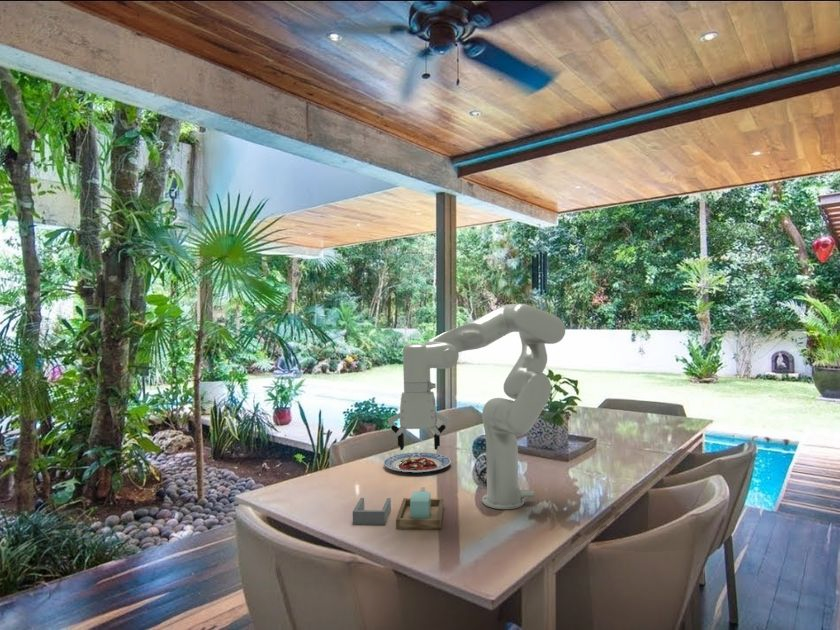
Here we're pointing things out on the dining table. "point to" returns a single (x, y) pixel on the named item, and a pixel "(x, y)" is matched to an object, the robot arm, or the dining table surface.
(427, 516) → the mint green block
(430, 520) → the tray
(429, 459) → the ceramic plate
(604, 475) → the dining table surface
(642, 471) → the dining table surface
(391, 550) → the dining table surface
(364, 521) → the bay
